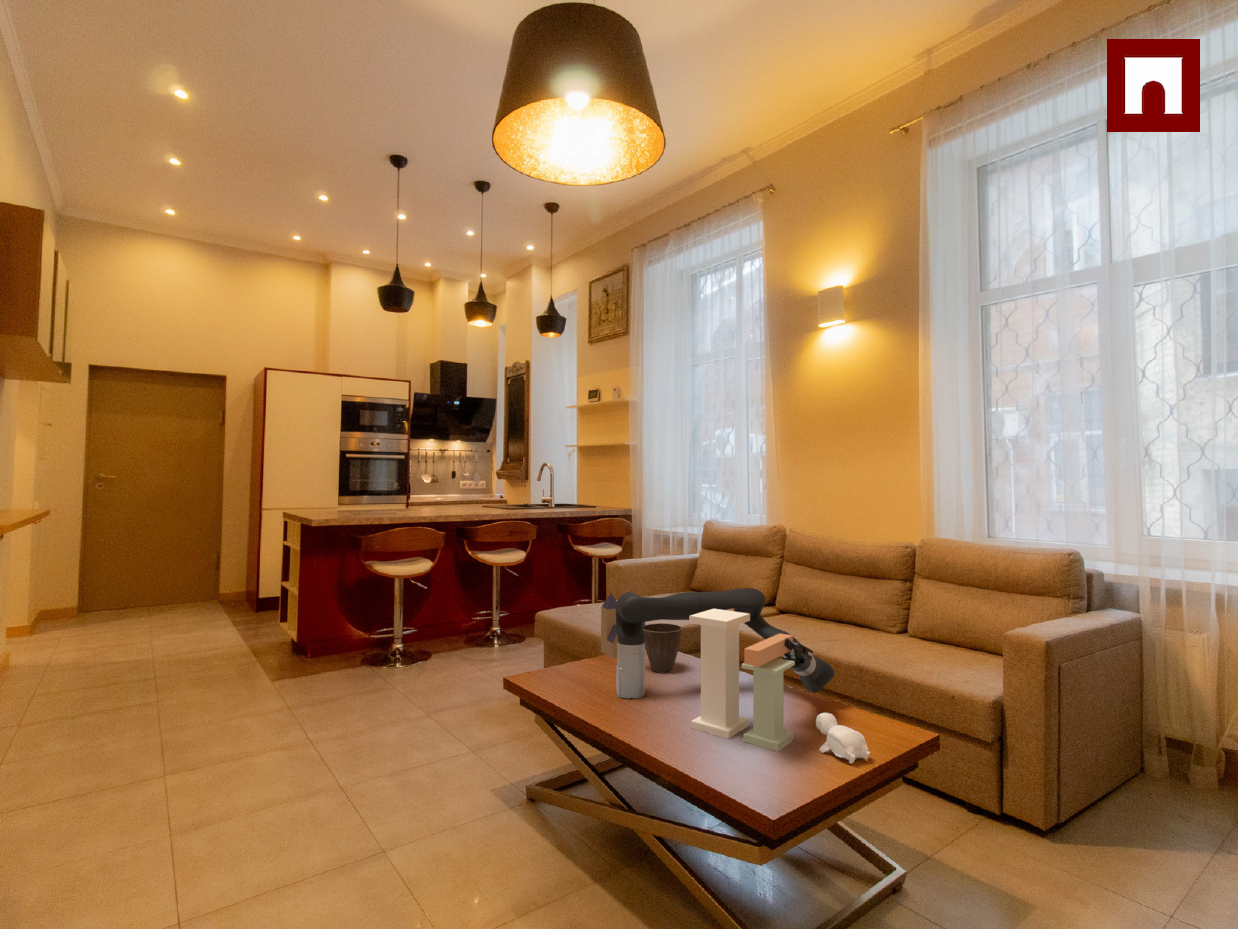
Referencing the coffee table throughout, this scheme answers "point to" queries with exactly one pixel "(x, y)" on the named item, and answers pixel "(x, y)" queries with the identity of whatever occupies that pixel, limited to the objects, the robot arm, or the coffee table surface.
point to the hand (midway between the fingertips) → (778, 640)
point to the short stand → (768, 706)
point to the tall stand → (720, 672)
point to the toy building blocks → (609, 627)
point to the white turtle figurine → (841, 739)
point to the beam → (766, 650)
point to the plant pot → (662, 645)
